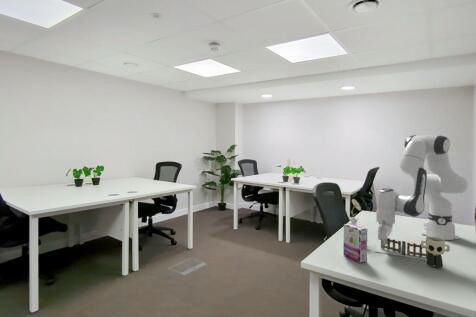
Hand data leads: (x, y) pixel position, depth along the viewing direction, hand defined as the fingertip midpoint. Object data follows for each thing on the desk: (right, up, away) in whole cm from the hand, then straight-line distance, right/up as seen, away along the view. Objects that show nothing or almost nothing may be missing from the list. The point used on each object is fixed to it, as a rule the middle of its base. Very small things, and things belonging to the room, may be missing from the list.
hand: (384, 244), depth 145 cm
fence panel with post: (+12, -4, -7) cm, 14 cm away
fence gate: (+3, -3, 0) cm, 4 cm away
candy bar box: (-20, -4, -9) cm, 23 cm away
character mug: (+13, -5, -19) cm, 23 cm away
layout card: (+9, -4, 0) cm, 10 cm away
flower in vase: (-10, -3, +17) cm, 20 cm away
